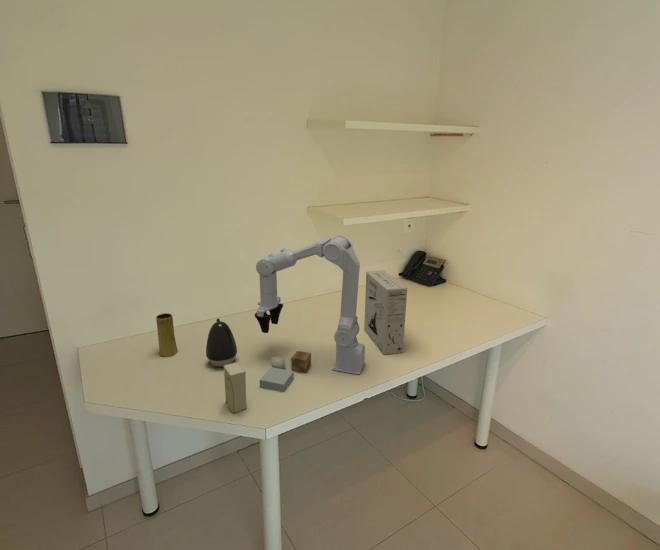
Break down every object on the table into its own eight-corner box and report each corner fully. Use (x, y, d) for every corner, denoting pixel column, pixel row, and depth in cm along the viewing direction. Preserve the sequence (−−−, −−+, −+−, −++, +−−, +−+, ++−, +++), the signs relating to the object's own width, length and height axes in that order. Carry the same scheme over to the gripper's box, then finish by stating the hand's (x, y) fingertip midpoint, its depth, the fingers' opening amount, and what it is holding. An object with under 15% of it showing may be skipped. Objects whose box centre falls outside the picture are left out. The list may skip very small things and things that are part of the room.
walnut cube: (310, 366, 138) (310, 353, 136) (305, 373, 133) (305, 360, 132) (297, 363, 139) (296, 350, 138) (291, 371, 135) (291, 357, 133)
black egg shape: (235, 353, 146) (232, 314, 141) (239, 367, 136) (237, 325, 132) (205, 358, 142) (202, 317, 138) (208, 372, 133) (204, 330, 128)
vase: (175, 356, 143) (171, 319, 139) (157, 357, 142) (152, 320, 138) (179, 348, 149) (175, 312, 145) (161, 349, 148) (156, 313, 144)
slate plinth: (293, 379, 130) (293, 371, 129) (283, 393, 123) (283, 384, 122) (271, 375, 133) (270, 367, 132) (259, 388, 125) (259, 379, 124)
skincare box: (225, 402, 118) (222, 365, 114) (240, 397, 120) (237, 361, 116) (232, 414, 113) (229, 375, 109) (247, 409, 115) (245, 371, 111)
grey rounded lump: (287, 367, 137) (286, 356, 136) (281, 374, 133) (281, 363, 132) (275, 365, 138) (274, 354, 137) (269, 371, 134) (269, 360, 133)
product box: (363, 330, 165) (366, 271, 158) (381, 328, 167) (384, 270, 160) (383, 355, 145) (387, 289, 138) (403, 353, 147) (407, 287, 140)
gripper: (267, 283, 146) (268, 318, 150) (247, 297, 133) (249, 334, 137) (285, 285, 144) (286, 321, 148) (267, 299, 131) (268, 337, 135)
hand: (270, 327), depth 143 cm, fingers open, 7 cm apart
